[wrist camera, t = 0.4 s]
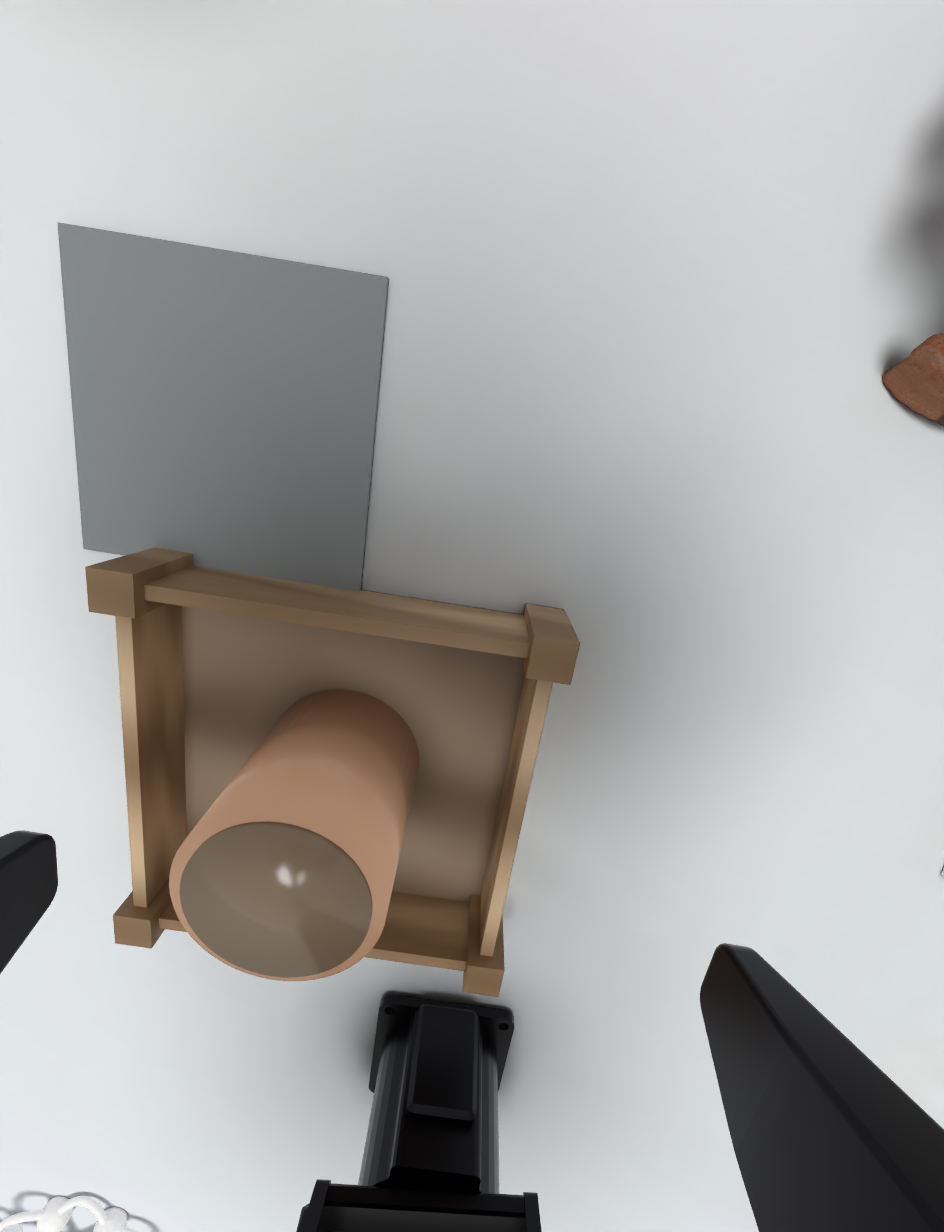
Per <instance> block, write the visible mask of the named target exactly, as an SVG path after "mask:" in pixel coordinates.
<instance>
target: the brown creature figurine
mask: <svg viewBox="0 0 944 1232" xmlns="http://www.w3.org/2000/svg"><path fill="white" fill-rule="evenodd" d="M882 380H883V383H884V385H885V387H887V388H888V389H889V390H890V391H891V393H892V394H893V395H894V396H895V397H896V399H898V400H899V401H901V402H902V403H904V404H905V405H907V406H908V407H909V408H910V409H911V410H913V411H915V412H917V413H919V414H921V415H923V416H925V417H926V418H928V419H931V420H935V421H936V422H937V423H939V424H941V425H943V426H944V334H943V333H940V334H935V335H933V336H931V337H930V338H928V339H927V340H926V341H924V342H923V343H922V344H921V345H919V346H918V347H917V348H916V349H914V350H913V351H912V353H911V354H910V356H909V357H908V358H907V359H905V360H903V361H902V362H900V363H899V364H897V365H896V366H894V367H893V368H892V369H890V370H889V371H888V372H886V373H885V374H884V375H883V377H882Z"/></svg>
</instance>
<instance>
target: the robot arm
mask: <svg viewBox="0 0 944 1232" xmlns="http://www.w3.org/2000/svg"><path fill="white" fill-rule="evenodd" d="M57 886H58V875H57V859H56V845H55V841H54V839H53V838H52V836H50V835H48V834H42V833H36V832H30V831H15V832H12V833H9V834H7V835H4V836H2V837H0V974H1V972H2V971H3V969H4V968H5V967H6V965H7V964H8V963H9V961H10V960H11V958H12V957H13V956H14V954H15V953H16V951H17V950H18V949H19V947H20V946H21V944H22V943H23V942H24V940H25V939H26V938H27V936H28V935H29V933H30V932H31V931H32V929H33V928H34V926H35V925H36V924H37V922H38V921H39V920H40V918H41V917H42V915H43V914H44V913H45V911H46V910H47V908H48V907H49V905H50V904H51V902H52V900H53V898H54V896H55V894H56V891H57ZM700 1004H701V1010H702V1014H703V1019H704V1023H705V1027H706V1032H707V1036H708V1040H709V1045H710V1049H711V1053H712V1058H713V1062H714V1066H715V1071H716V1075H717V1079H718V1084H719V1088H720V1092H721V1097H722V1101H723V1105H724V1110H725V1114H726V1118H727V1123H728V1127H729V1131H730V1135H731V1139H732V1143H733V1147H734V1151H735V1154H736V1158H737V1161H738V1165H739V1168H740V1171H741V1175H742V1178H743V1181H744V1185H745V1188H746V1191H747V1194H748V1197H749V1200H750V1204H751V1207H752V1210H753V1213H754V1216H755V1220H756V1223H757V1226H758V1229H759V1232H944V1129H943V1128H942V1127H941V1126H940V1125H939V1124H937V1123H936V1122H935V1121H934V1120H933V1119H932V1118H931V1117H930V1116H929V1115H928V1114H927V1113H926V1112H925V1111H924V1110H923V1109H922V1108H921V1107H919V1106H918V1105H917V1104H916V1103H915V1102H914V1101H913V1100H912V1099H911V1098H910V1097H909V1096H908V1095H907V1094H906V1093H905V1092H904V1091H903V1090H902V1089H900V1088H899V1087H898V1086H897V1085H896V1084H895V1083H894V1082H893V1081H892V1080H891V1079H890V1078H889V1077H888V1076H887V1075H886V1074H885V1073H884V1072H883V1071H881V1070H880V1069H879V1068H878V1067H877V1066H876V1065H875V1064H874V1063H873V1062H872V1061H871V1060H870V1059H869V1058H868V1057H867V1056H866V1055H865V1054H864V1053H862V1052H861V1051H860V1050H859V1049H858V1048H857V1047H856V1046H855V1045H854V1044H853V1043H852V1042H851V1041H850V1040H849V1039H848V1038H847V1037H846V1036H845V1035H843V1034H842V1033H841V1032H840V1031H839V1030H838V1029H837V1028H836V1027H835V1026H834V1025H833V1024H832V1023H831V1022H830V1021H829V1020H828V1019H827V1018H825V1017H824V1016H823V1015H822V1014H821V1013H820V1012H819V1011H818V1010H817V1009H816V1008H815V1007H814V1006H813V1005H812V1004H811V1003H810V1002H809V1001H808V1000H806V999H805V998H804V997H803V996H802V995H801V994H800V993H799V992H798V991H797V990H796V989H795V988H794V987H793V986H792V985H791V984H790V983H789V982H787V981H786V980H785V979H784V978H783V977H782V976H781V975H780V974H779V973H778V972H777V971H776V970H775V969H774V968H773V967H772V966H771V965H770V964H768V963H767V962H766V961H765V960H764V959H763V958H762V957H761V956H760V955H759V954H758V953H757V952H755V951H754V950H753V949H751V948H748V947H744V946H738V945H732V944H726V943H724V944H720V945H719V946H718V947H717V948H716V950H715V952H714V954H713V957H712V960H711V962H710V965H709V967H708V970H707V972H706V975H705V978H704V980H703V983H702V986H701V991H700ZM513 1030H514V1016H513V1015H512V1013H510V1012H508V1011H505V1010H497V1009H490V1008H483V1007H476V1006H469V1005H462V1004H454V1003H447V1002H440V1001H433V1000H426V999H419V998H411V997H404V996H397V995H386V996H384V997H383V998H382V999H381V1003H380V1008H379V1015H378V1022H377V1029H376V1037H375V1044H374V1052H373V1059H372V1066H371V1074H370V1081H369V1089H370V1090H371V1091H372V1092H373V1093H374V1098H373V1103H372V1109H371V1115H370V1120H369V1126H368V1132H367V1137H366V1143H365V1149H364V1154H363V1160H362V1166H361V1171H360V1177H359V1183H358V1185H345V1184H331V1180H319V1179H317V1181H316V1184H315V1187H314V1191H313V1194H312V1197H311V1200H310V1203H309V1204H308V1205H306V1206H304V1207H303V1208H302V1211H301V1215H300V1219H299V1223H298V1227H297V1232H541V1224H540V1214H539V1204H538V1195H537V1193H530V1192H523V1195H508V1194H499V1145H498V1090H499V1086H500V1082H501V1078H502V1074H503V1070H504V1066H505V1062H506V1058H507V1054H508V1050H509V1046H510V1042H511V1038H512V1034H513Z"/></svg>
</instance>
